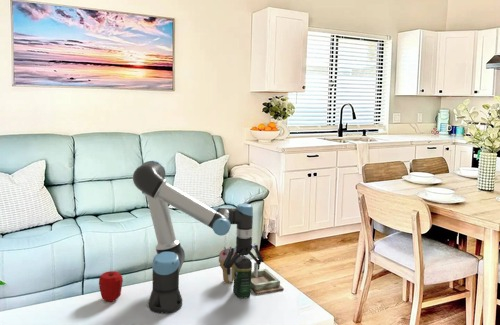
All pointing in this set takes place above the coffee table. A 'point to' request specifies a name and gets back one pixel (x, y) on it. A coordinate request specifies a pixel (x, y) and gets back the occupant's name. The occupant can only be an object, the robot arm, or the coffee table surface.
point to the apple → (110, 285)
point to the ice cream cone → (222, 258)
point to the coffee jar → (242, 277)
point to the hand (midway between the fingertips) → (243, 278)
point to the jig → (264, 282)
